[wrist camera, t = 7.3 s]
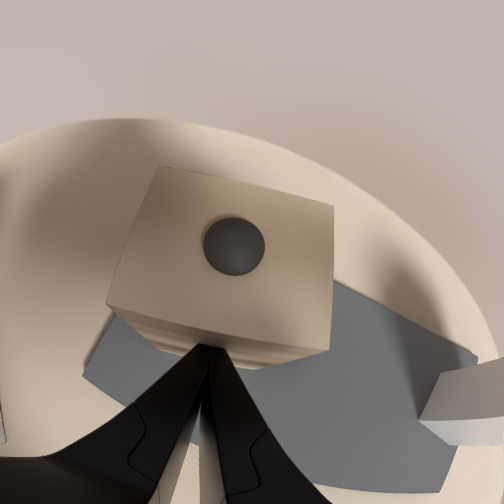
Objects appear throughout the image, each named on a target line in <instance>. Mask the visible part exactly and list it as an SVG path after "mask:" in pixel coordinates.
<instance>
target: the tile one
mask: <svg viewBox="0 0 504 504" xmlns="http://www.w3.org/2000/svg"><path fill="white" fill-rule="evenodd" d="M333 272H334V206H333V205H329V204H326V203H322V202H318V201H315V200H311V199H307V198H304V197H300V196H296V195H292V194H289V193H285V192H281V191H277V190H273V189H269V188H264V187H260V186H256V185H252V184H248V183H243V182H239V181H234V180H230V179H225V178H220V177H216V176H211V175H206V174H201V173H196V172H191V171H185V170H180V169H175V168H169V167H163V166H159V168H158V171H157V173H156V175H155V177H154V179H153V181H152V183H151V185H150V187H149V190H148V192H147V194H146V196H145V198H144V201H143V203H142V205H141V207H140V210H139V212H138V214H137V217H136V219H135V222H134V224H133V226H132V229H131V231H130V234H129V236H128V239H127V242H126V244H125V247H124V249H123V252H122V255H121V258H120V260H119V263H118V266H117V269H116V272H115V275H114V277H113V280H112V283H111V287H110V290H109V293H108V296H107V299H106V302H105V304H106V305H107V306H108V307H110V308H111V309H112V310H113V311H114V312H115V313H116V314H117V315H118V316H120V317H121V318H122V319H123V320H124V321H125V322H126V323H127V324H129V325H130V326H131V327H132V328H133V329H134V330H136V331H137V332H138V333H139V334H140V335H142V336H143V337H144V338H145V339H147V340H148V341H149V342H150V343H152V344H153V345H154V346H155V347H157V348H158V349H159V350H161V351H165V352H169V353H173V354H177V355H181V356H184V355H185V354H187V353H188V352H189V351H190V350H191V349H192V348H193V347H194V346H195V345H196V344H198V343H201V344H205V345H210V346H211V348H212V347H213V346H215V347H220V348H225V349H226V351H227V353H228V354H229V356H230V358H231V360H232V362H233V364H234V366H235V367H240V368H246V369H253V370H255V369H260V368H264V367H269V366H273V365H277V364H281V363H285V362H289V361H293V360H297V359H300V358H304V357H308V356H311V355H315V354H318V353H322V352H325V351H328V350H329V345H330V332H331V318H332V299H333Z"/></svg>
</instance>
